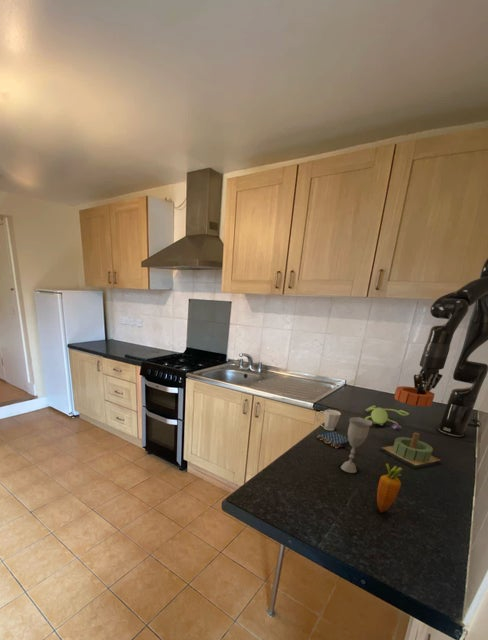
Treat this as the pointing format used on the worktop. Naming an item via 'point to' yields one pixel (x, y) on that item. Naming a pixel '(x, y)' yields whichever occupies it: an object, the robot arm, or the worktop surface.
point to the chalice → (356, 439)
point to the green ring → (412, 449)
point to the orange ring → (413, 396)
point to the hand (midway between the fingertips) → (421, 399)
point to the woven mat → (333, 439)
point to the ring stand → (412, 445)
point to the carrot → (388, 488)
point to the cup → (330, 419)
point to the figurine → (383, 416)
